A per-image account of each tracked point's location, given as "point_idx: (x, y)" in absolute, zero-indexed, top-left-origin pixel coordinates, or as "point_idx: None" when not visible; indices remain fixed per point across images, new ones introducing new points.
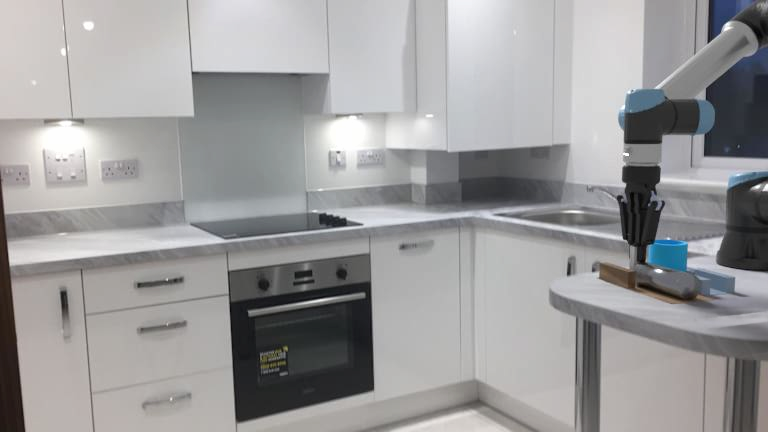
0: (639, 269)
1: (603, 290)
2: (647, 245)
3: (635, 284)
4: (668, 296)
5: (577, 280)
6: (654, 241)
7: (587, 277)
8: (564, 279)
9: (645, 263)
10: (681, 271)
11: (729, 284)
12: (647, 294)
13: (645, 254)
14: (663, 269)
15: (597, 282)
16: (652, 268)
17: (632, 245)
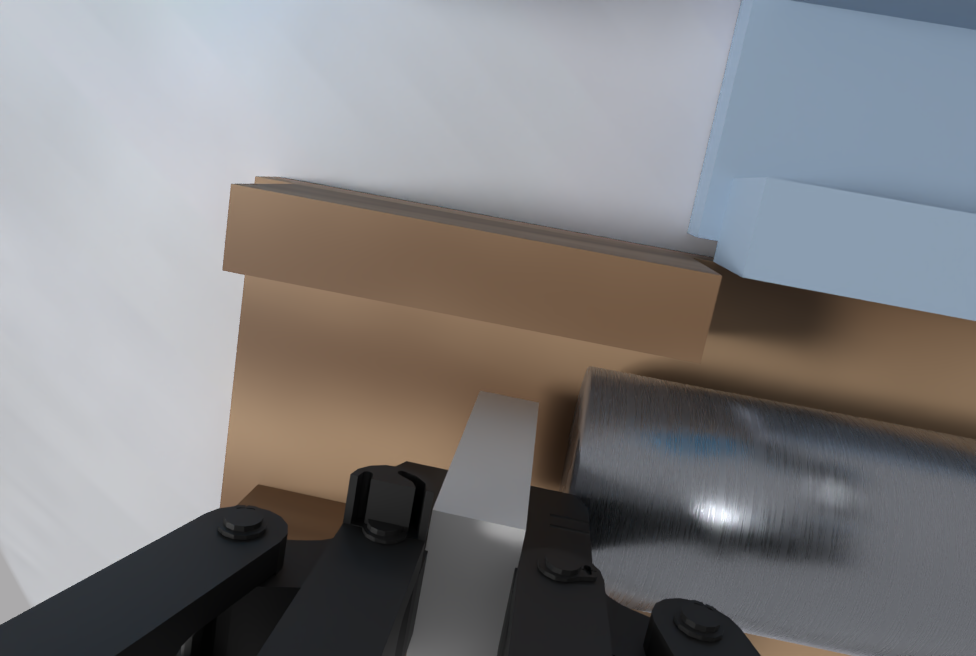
0: (635, 609)
1: None
2: (623, 613)
3: (538, 473)
4: None
5: (82, 524)
6: (748, 644)
7: (29, 394)
8: (22, 574)
9: (652, 573)
10: (813, 190)
11: None
12: (816, 649)
13: (586, 542)
14: (955, 649)
15: (191, 455)
16: (802, 633)
17: (418, 646)
